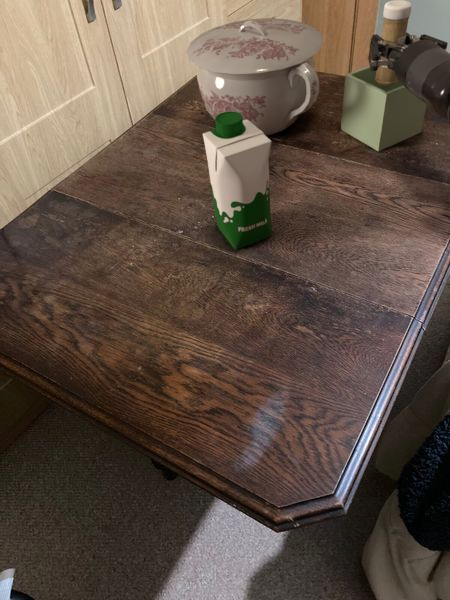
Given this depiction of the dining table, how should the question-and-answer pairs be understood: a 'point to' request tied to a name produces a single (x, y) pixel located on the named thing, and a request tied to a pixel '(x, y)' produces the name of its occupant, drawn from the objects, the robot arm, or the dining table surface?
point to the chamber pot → (258, 70)
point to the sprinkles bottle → (393, 34)
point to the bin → (379, 110)
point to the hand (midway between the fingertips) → (386, 38)
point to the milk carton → (239, 179)
